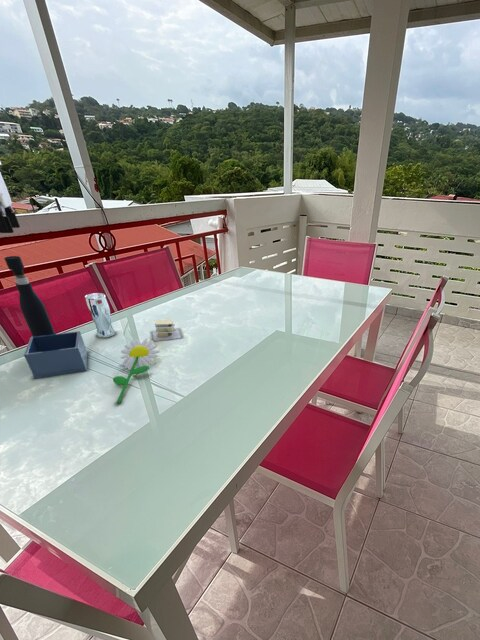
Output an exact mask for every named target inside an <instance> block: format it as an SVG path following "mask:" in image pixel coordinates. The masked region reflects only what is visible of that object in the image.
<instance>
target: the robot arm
mask: <svg viewBox="0 0 480 640" xmlns="http://www.w3.org/2000/svg"><path fill="white" fill-rule="evenodd" d="M0 166H2V161H1V160H0ZM12 204H13V202H12V198H11V195H10V192H9V190H8V188H7V185H6V182H5V180H4V177H3V176H2V172H1V171H0V234H13V233H14V229H18V228H20V227H21V225H20V222H19V220H18V217H17V215H16V212H15V210H14V208H13V206H12Z"/></svg>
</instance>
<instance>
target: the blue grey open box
mask: <svg viewBox="0 0 480 640" xmlns="http://www.w3.org/2000/svg"><path fill="white" fill-rule="evenodd" d="M23 356H24V359H25V361H26V363H27V365H28V368H29V369H30V371H31V373H32V376H33V378H34V379H41V378H48V377H49V378H50V377H55V376H61V375H67V374H74V373H80V372H86V371H87V367H88V366H87V365H88V349H87V347H86V344H85V342H84V338H83V336H82V333H81V330H79V331H69V332H61V333H55V334H51V335H42V336H30V338H29V341H28V343H27V346H26V348H25V351H24V353H23Z"/></svg>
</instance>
